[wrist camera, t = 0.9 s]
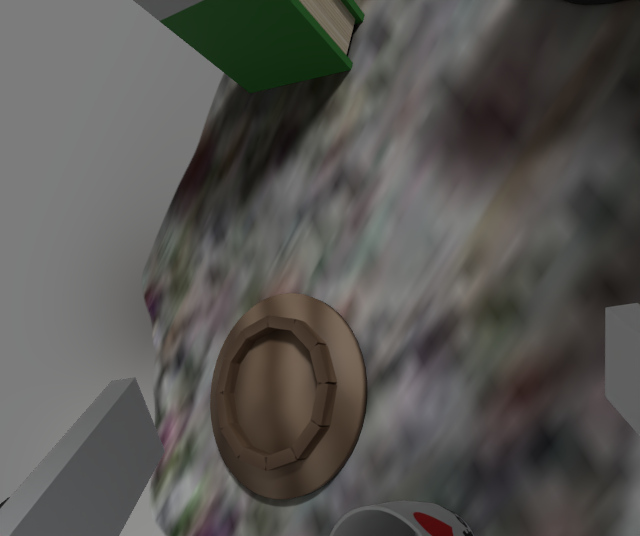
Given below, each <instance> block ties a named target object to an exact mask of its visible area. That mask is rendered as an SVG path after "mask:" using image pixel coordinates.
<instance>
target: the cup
mask: <svg viewBox="0 0 640 536" xmlns="http://www.w3.org/2000/svg"><path fill="white" fill-rule="evenodd" d="M330 536H474V534H473V532H472V530H471V529H470V527H469V526H468V524H467V523H466V522H465V521H464V520H463V519H462V518H461V517H460V516H458V515H457V514H455V513H454V512H452V511H450V510H448V509H446V508H444V507H442V506H439V505H437V504H434V503H428V502H416V501H403V500H401V501H393V502H387V503H381V504H375V505H369V506H363V507H359V508H356V509H354V510H352V511H350V512H348V513H347V514H346V515H344V516H343V517H342V518H341V519H340V520H339V521H338V522H337V524H336V525H335V527H334V528H333V530H332V532H331V534H330Z"/></svg>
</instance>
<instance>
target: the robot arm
mask: <svg viewBox="0 0 640 536" xmlns="http://www.w3.org/2000/svg"><path fill="white" fill-rule="evenodd" d="M565 1H569V2H573V3H581V4H600V3H609V2H615V1H620V0H565ZM605 397H606V398H607V399H608V401H609V402H610V403H611V404H612V405H613V406H614V407H615V409H616V410H617V411H618V412H619V413H620V414H621V415H622V416H623V418H624V419H625V420H626V421H627V422H628V423H629V424H630V426H631V427H632V428H633V429H634V430H635V431H636V432H637V434H638V435H639V436H640V304H638V303H632V304H626V305H619V306H612V307H605ZM164 452H165V450H164V448H163V445H162V443H161V440H160V438H159V435H158V433H157V430H156V428H155V425H154V423H153V420H152V418H151V415H150V413H149V410H148V408H147V405H146V403H145V400H144V398H143V395H142V393H141V391H140V388H139V386H138V383H137V381H136V378H128V379H122V380H115V381H111V382H110V384H109V385H108V386H107V387H106V388H105V389H104V390H103V391H102V393H101V394H100V395H99V396H98V397H97V399H95V401H94V402H93V403H92V404H91V405H90V406H89V408H88V409H87V410H86V411H85V412H84V413H83V414H82V416H81V417H80V418H79V419H78V420H77V421H76V422H75V424H74V425H73V426H72V427H71V428H70V430H68V432H67V433H66V434H65V435H64V436H63V437H62V439H61V440H60V441H59V442H58V443H57V444H56V445H55V447H54V448H53V449H52V450H51V451H50V452H49V453H48V455H47V456H46V457H45V458H44V459H43V460H42V461H41V462H40V464H39V465H38V466H37V467H36V468H35V470H34V471H33V472H32V473H31V474H30V475H29V476H28V477H27V479H26V480H25V481H24V482H23V483H22V484H21V485H20V487H19V488H18V489H17V490H16V491H15V492H14V494H13V495H12V496H11V497H9V498H7V499H6V500H5V501H4V502H2V503H1V504H0V536H119V535H120V533H121V531H122V529H123V527H124V526H125V524H126V522H127V520H128V518H129V516H130V514H131V513H132V511H133V509H134V507H135V505H136V503H137V502H138V500H139V498H140V496H141V494H142V492H143V490H144V488H145V487H146V485H147V483H148V481H149V479H150V477H151V476H152V474H153V472H154V470H155V468H156V466H157V465H158V463H159V461H160V459H161V457H162V455H163V453H164Z"/></svg>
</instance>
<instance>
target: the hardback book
mask: <svg viewBox="0 0 640 536" xmlns="http://www.w3.org/2000/svg"><path fill="white" fill-rule="evenodd" d="M134 1H135V2H136V3H138V4H139V5H140V6H141V7H142V8H144V9H145V10H146V11H147V12H149V13H150V14H151V15H152V16H154V17H155V18H156V19H157V20H159V21H160V22H161V23H163V24H164V25H165V26H166V27H168V28H169V29H170V30H171V31H173V32H174V33H175V34H176V35H178V36H179V37H180V38H181V39H183V40H184V41H185V42H186V43H188V44H189V45H190V46H191V47H193V48H194V49H195V50H196V51H198V52H199V53H200V54H202V55H203V56H204V57H205V58H206V59H208V60H209V61H210V62H211V63H213V64H214V65H215V66H216V67H218V68H219V69H220V70H222V71H223V72H224V73H225V74H227V75H228V76H229V77H230V78H232V79H233V80H234V81H235V82H237V83H238V84H239V85H240V86H242V87H243V88H244V89H245V90H247V91H248V92H249V93H253V92H257V91H262V90H266V89H270V88H275V87H279V86H283V85H287V84H292V83H296V82H300V81H305V80H309V79H313V78H318V77H322V76H326V75H331V74H335V73H339V72H344V71H348V70H351V68H352V64H353V62H352V61H351V60H350V59H349V58H348V57H347V56H346V55H347V51H348V47H349V43H350V39H351V35H352V31H353V27H354V24H357V23H360V22H363V19H364V14H363V12H362V11H361V9H360V8H359V7H358V5H357V4H356V3H355V1H354V0H134Z"/></svg>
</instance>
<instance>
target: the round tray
mask: <svg viewBox="0 0 640 536" xmlns="http://www.w3.org/2000/svg"><path fill="white" fill-rule="evenodd" d="M366 404H367V377H366V368H365V364H364V359H363V355H362V352H361V349H360V347H359V344H358V341H357V339H356V337H355V335H354V333H353V331H352V330H351V328H350V327H349V325H348V324H347V322H346V321H345V320H344V319H343V318H342V316H341V315H340V314H339V313H338V312H337V311H335V310H334V309H333V308H332V307H330V306H329V305H327V304H326V303H324V302H322V301H320V300H318V299H315V298H312V297H309V296H306V295H302V294H296V293H286V294H280V295H276V296H273V297H270V298H267V299H265V300H263V301H261V302H259V303H258V304H256V305H255V306H254V307H252V308H251V309H250V310H249V311H248V312H246V313H245V314H244V315H243V316H242V317H241V319H240V320H239V321H238V322H237V323H236V325H235V326H234V327H233V329H232V330H231V332H230V333H229V335H228V337H227V338H226V340H225V342H224V344H223V347H222V349H221V351H220V354H219V356H218V359H217V362H216V366H215V370H214V374H213V379H212V386H211V402H210V408H211V421H212V427H213V432H214V436H215V440H216V443H217V446H218V448H219V451H220V454H221V456H222V458H223V460H224V462H225V464H226V465H227V467H228V468H229V470H230V471H231V473H232V474H233V475H234V476H235V477H236V478H237V480H238V481H239V482H241V483H242V484H243V485H244V486H245V487H246V488H248V489H249V490H251V491H253V492H254V493H256V494H259V495H261V496H264V497H267V498H272V499H290V498H295V497H300V496H304V495H307V494H309V493H312V492H314V491H316V490H318V489H319V488H321V487H323V486H324V485H326V484H327V483H328V482H329V481H330V480H331V479H333V478H334V477H335V476H336V475H337V473H338V472H339V471H340V470H341V469H342V468H343V466H344V465H345V463H346V462H347V460H348V459H349V457H350V456H351V454H352V452H353V450H354V448H355V446H356V444H357V441H358V439H359V436H360V433H361V430H362V427H363V422H364V418H365V413H366Z"/></svg>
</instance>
